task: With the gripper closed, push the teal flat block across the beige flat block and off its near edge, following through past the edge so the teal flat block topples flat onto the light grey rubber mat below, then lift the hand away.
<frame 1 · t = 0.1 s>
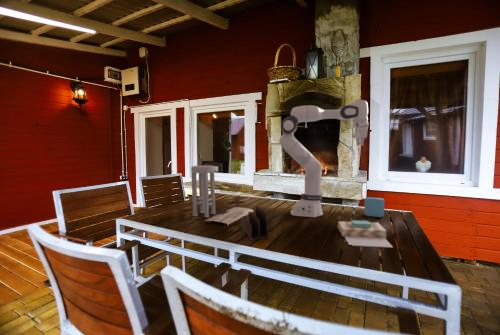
hand: (359, 145, 180), 48 cm above the table, tool pointing down, fingers open, 8 cm apart
data package: (374, 215, 183), on the table
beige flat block: (360, 232, 149), on the table
grey flat ribbed slab: (231, 218, 184), on the table
letter holder: (254, 233, 151), on the table
teal flat block: (360, 225, 149), point 4 cm above the table, touching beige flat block
stool: (204, 216, 188), on the table
mat: (367, 242, 135), on the table
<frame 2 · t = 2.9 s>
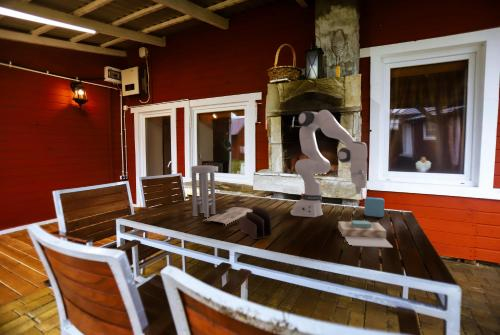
hand: (358, 193, 156), 21 cm above the table, tool pointing down, fingers closed
grey flat ribbed slab: (230, 218, 184), on the table
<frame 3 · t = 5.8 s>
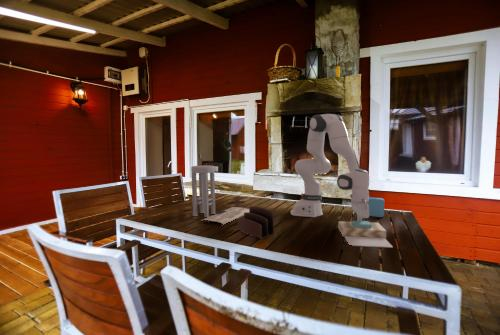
hand: (359, 221, 152), 5 cm above the table, tool pointing down, fingers closed
grey flat ribbed slab: (228, 217, 185), on the table
teal flat block: (361, 226, 148), point 4 cm above the table
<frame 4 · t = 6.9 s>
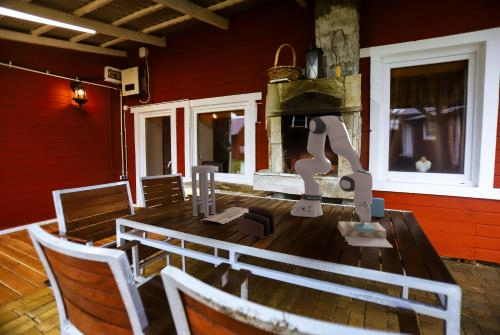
hand: (362, 225, 146), 5 cm above the table, tool pointing down, fingers closed
teal flat block: (364, 229, 142), point 4 cm above the table, touching gripper
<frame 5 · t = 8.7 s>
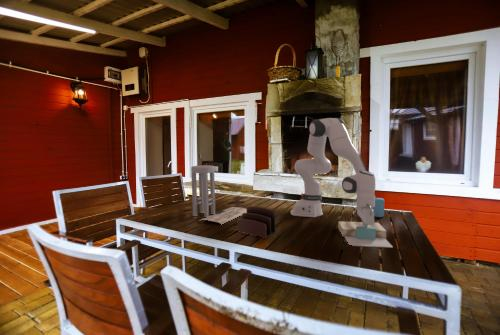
hand: (364, 228, 141), 5 cm above the table, tool pointing down, fingers closed
teal flat block: (365, 232, 140), point 4 cm above the table, tilted 97°, touching mat
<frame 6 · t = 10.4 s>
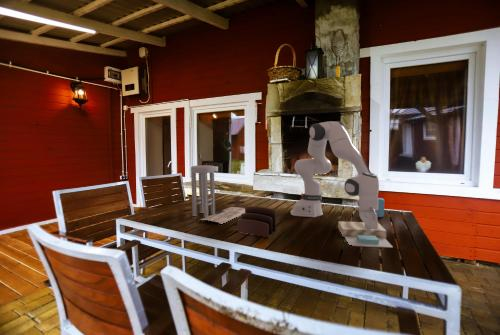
hand: (367, 232, 135), 5 cm above the table, tool pointing down, fingers closed
teal flat block: (367, 237, 135), point 2 cm above the table, tilted 180°, touching mat
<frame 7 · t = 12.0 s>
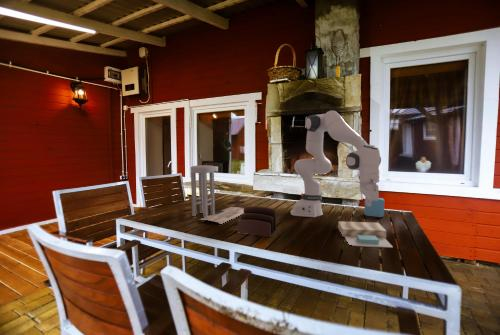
hand: (368, 205, 134), 19 cm above the table, tool pointing down, fingers closed
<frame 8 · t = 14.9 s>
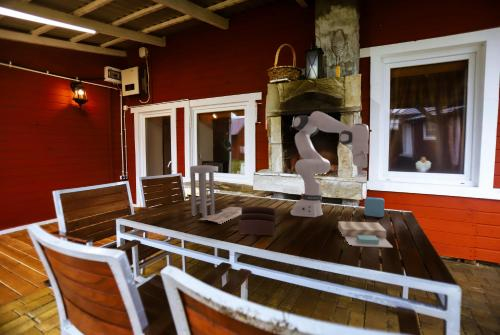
hand: (359, 174, 161), 31 cm above the table, tool pointing down, fingers closed
at the end: teal flat block point 2.4 cm above the table; teal flat block inside the target area on the mat (0.1 cm from its centre), point 2.4 cm above the mat's base; teal flat block touching mat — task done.
